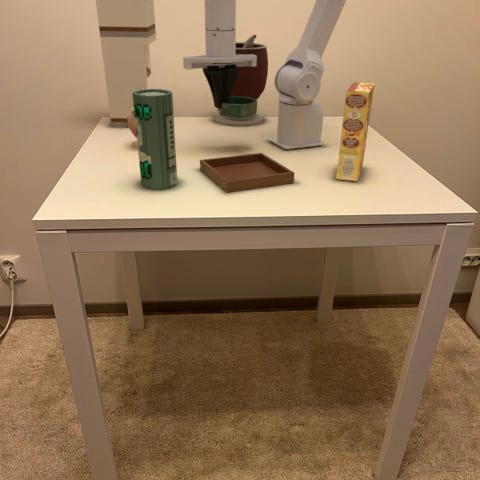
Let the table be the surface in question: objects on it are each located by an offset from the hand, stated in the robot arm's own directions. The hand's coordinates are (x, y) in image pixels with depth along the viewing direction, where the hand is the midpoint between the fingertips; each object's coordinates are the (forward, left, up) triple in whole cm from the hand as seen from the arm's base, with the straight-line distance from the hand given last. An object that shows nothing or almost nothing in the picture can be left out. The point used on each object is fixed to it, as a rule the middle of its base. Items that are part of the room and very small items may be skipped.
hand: (220, 107), depth 100 cm
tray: (+2, +16, -9) cm, 19 cm away
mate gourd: (-15, -24, -9) cm, 29 cm away
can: (+18, +14, -9) cm, 25 cm away
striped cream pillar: (+10, -32, -9) cm, 34 cm away
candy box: (-17, +22, -9) cm, 30 cm away
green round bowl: (-4, 0, -1) cm, 4 cm away
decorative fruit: (+13, -10, -9) cm, 18 cm away
